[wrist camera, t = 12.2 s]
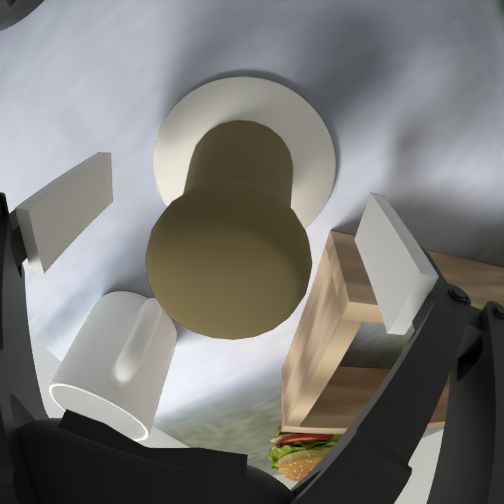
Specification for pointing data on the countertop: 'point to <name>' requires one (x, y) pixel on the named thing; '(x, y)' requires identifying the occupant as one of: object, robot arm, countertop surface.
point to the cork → (232, 237)
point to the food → (299, 452)
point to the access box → (344, 330)
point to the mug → (118, 364)
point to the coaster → (250, 109)
